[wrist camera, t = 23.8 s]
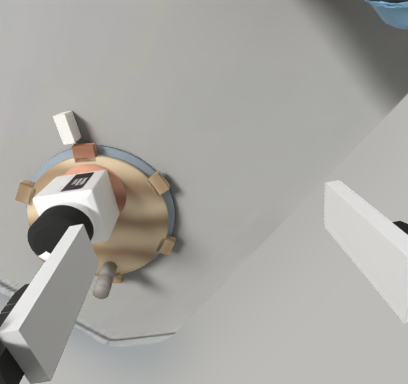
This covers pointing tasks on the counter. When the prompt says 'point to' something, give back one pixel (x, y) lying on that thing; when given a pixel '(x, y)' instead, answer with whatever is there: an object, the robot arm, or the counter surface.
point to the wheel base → (72, 134)
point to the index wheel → (128, 213)
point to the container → (73, 210)
